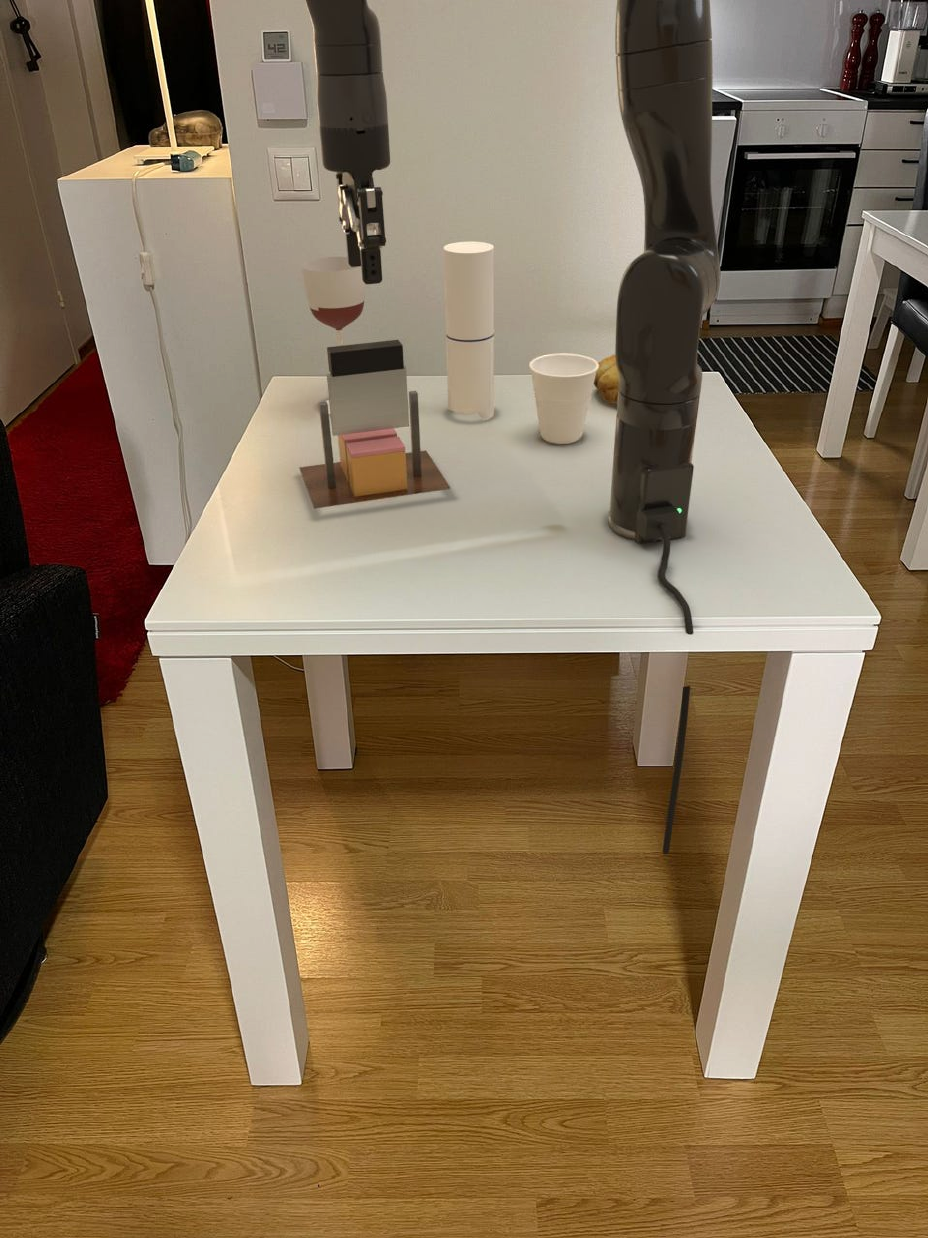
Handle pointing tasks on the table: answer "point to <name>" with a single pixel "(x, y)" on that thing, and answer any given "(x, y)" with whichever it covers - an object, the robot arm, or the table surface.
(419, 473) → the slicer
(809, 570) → the table surface
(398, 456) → the cake
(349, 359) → the black handled scraper
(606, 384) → the bread roll
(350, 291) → the wineglass
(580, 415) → the cup
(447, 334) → the cylindrical container
